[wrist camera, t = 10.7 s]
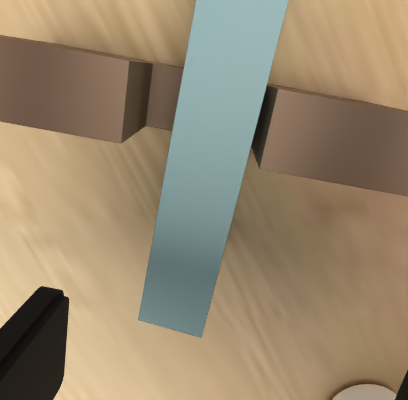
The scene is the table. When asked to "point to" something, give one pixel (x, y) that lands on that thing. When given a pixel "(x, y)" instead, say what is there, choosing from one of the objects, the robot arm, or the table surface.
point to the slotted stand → (167, 104)
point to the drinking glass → (366, 393)
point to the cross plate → (208, 155)
